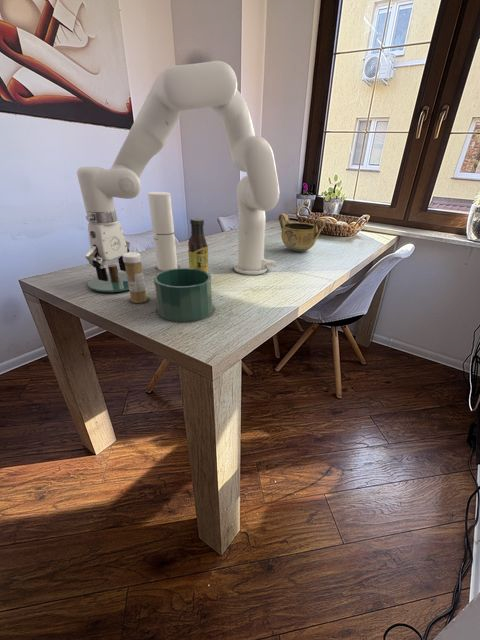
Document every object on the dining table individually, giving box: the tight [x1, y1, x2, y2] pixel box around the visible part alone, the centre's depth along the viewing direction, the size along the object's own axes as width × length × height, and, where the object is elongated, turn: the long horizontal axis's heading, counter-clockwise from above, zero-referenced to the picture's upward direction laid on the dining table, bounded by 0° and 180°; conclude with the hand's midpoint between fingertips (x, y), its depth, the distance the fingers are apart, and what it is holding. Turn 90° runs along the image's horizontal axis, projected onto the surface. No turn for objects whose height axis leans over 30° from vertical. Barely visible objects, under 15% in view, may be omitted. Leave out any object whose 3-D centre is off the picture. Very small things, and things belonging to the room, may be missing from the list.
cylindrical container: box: [147, 191, 178, 271], centre depth 109 cm, size 7×7×25 cm
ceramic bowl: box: [278, 213, 327, 253], centre depth 142 cm, size 22×17×15 cm
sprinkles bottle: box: [122, 251, 148, 304], centre depth 86 cm, size 5×5×14 cm
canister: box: [153, 267, 213, 323], centre depth 84 cm, size 15×15×10 cm
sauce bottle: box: [187, 217, 209, 273], centre depth 100 cm, size 7×6×20 cm
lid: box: [87, 263, 130, 293], centre depth 97 cm, size 16×16×6 cm
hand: (114, 275), depth 97 cm, fingers open, 9 cm apart
